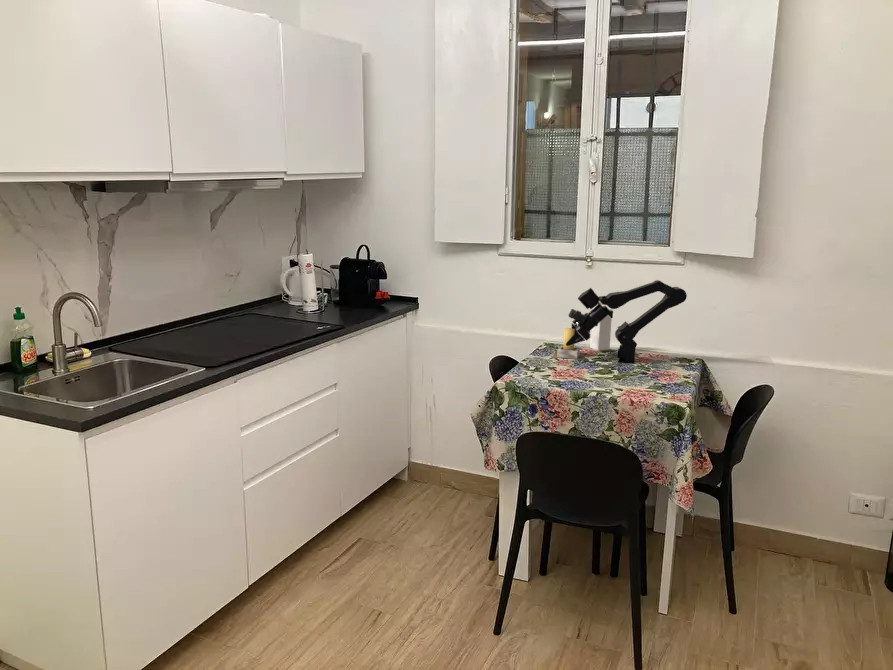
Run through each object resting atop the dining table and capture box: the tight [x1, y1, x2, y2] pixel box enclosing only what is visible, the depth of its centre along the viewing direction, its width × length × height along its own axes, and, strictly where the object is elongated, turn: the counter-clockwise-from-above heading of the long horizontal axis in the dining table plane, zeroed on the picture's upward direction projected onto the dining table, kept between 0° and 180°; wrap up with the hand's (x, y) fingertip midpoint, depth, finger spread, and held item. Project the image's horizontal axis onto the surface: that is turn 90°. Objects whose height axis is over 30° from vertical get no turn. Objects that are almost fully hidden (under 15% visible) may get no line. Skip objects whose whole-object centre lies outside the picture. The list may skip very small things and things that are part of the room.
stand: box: [551, 345, 585, 361], centre depth 290 cm, size 12×12×4 cm
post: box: [562, 327, 575, 351], centre depth 289 cm, size 4×4×11 cm
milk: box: [589, 301, 613, 351], centre depth 303 cm, size 6×6×22 cm
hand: (565, 342), depth 289 cm, fingers open, 8 cm apart
